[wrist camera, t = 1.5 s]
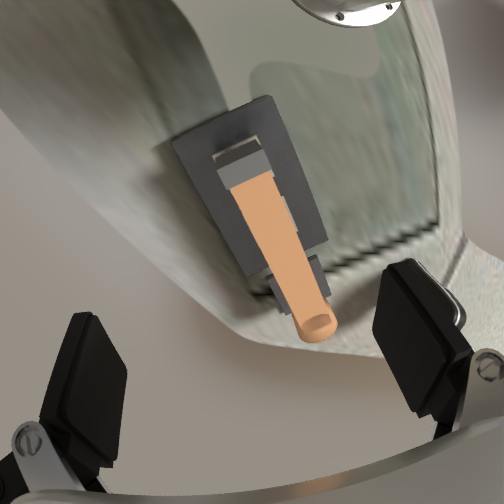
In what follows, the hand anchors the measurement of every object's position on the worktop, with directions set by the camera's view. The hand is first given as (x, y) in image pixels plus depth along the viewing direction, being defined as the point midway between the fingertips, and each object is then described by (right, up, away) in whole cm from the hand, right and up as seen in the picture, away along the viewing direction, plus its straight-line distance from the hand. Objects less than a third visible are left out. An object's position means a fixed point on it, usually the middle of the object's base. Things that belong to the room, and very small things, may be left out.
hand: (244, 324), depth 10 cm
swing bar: (+3, +2, +19) cm, 19 cm away
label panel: (+1, +8, +20) cm, 21 cm away
